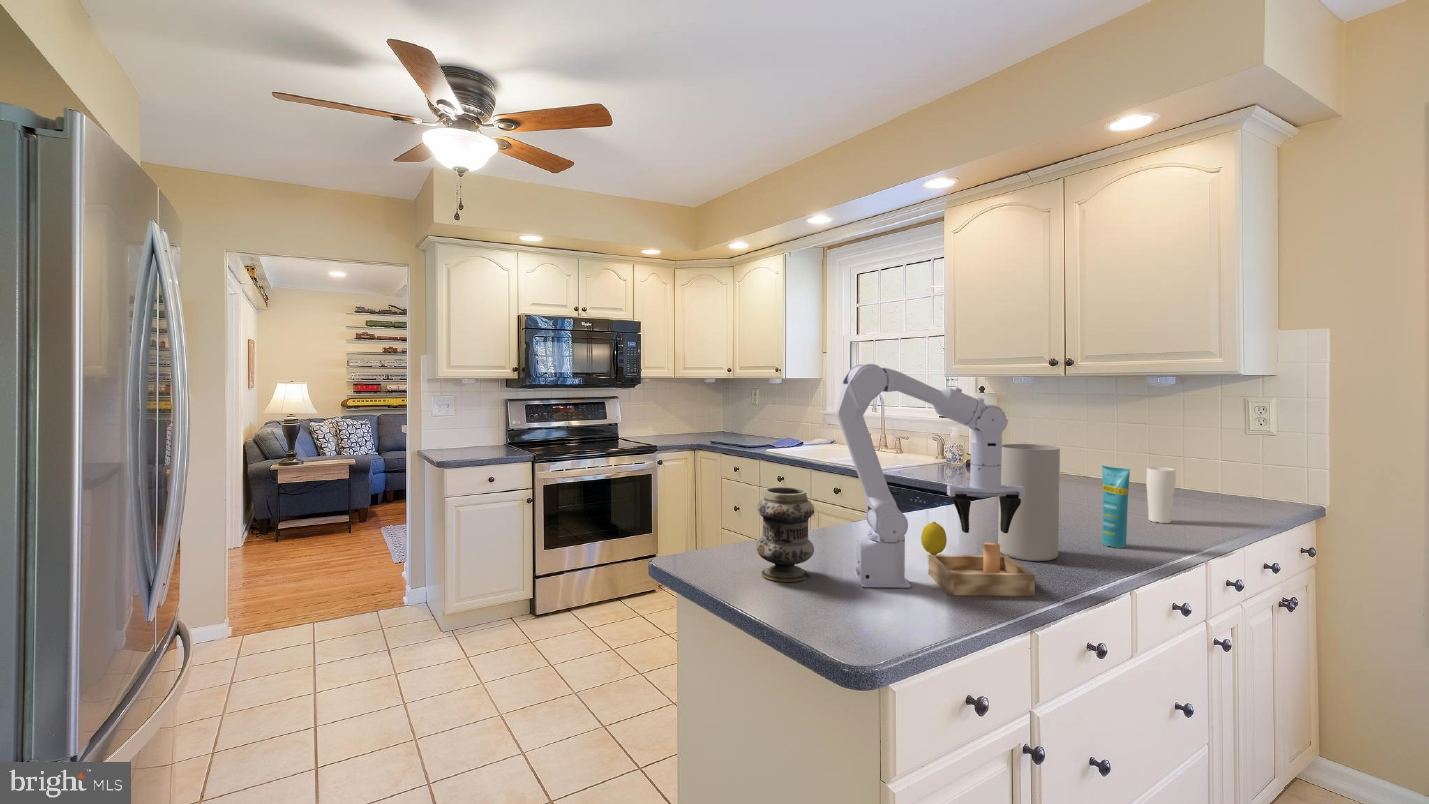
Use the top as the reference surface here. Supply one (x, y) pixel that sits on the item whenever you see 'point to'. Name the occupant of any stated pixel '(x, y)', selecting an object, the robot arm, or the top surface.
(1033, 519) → the cylinder vase
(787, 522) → the apothecary jar
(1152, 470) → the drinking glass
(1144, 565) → the top surface
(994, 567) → the peg
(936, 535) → the lemon
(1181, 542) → the top surface
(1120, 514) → the tube
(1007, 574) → the box
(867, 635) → the top surface
